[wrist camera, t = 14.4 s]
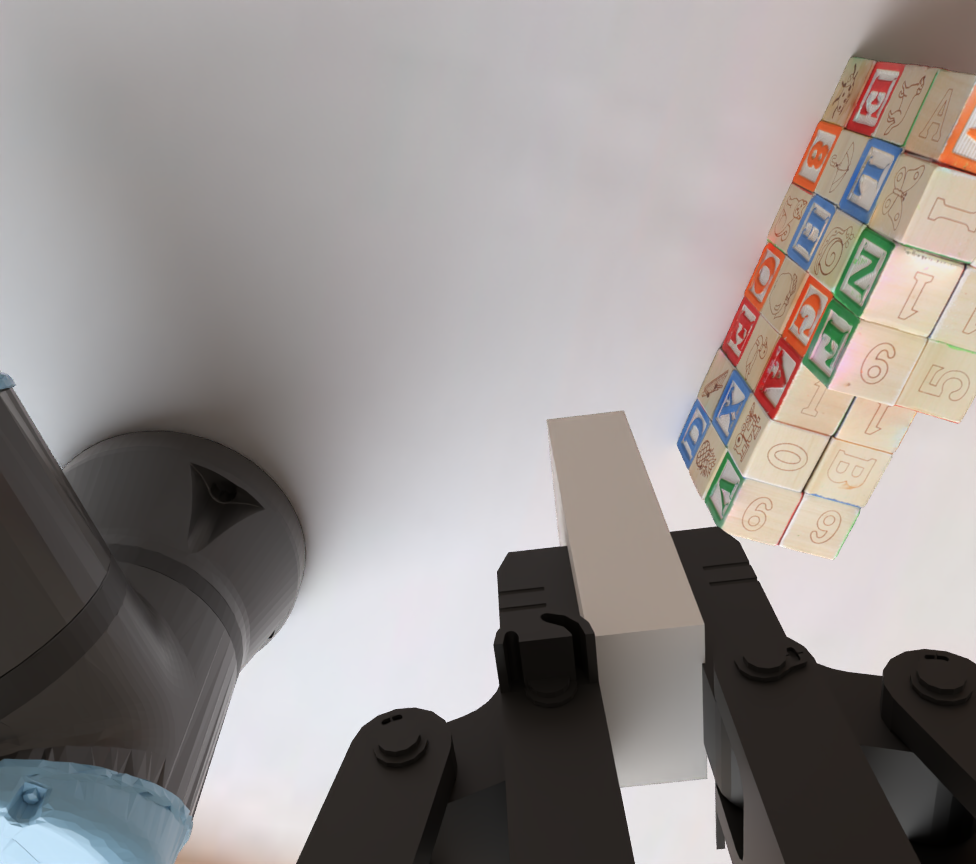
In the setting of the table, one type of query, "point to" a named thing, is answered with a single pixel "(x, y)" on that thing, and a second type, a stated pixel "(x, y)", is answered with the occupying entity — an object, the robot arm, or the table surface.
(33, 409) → the table surface
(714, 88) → the table surface
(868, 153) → the stack of blocks
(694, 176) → the table surface
